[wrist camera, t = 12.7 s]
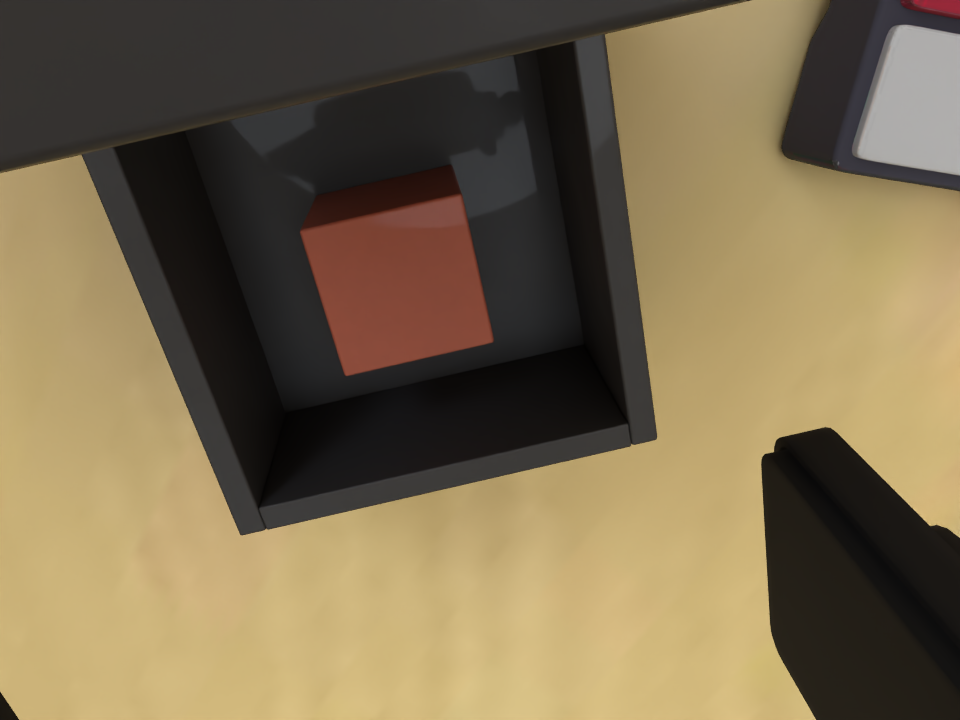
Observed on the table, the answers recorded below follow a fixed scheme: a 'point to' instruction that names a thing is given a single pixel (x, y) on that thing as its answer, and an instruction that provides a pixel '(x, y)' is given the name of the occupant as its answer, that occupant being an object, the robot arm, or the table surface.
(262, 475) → the case
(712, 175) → the table surface
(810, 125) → the calculator
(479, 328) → the block
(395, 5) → the case lid
